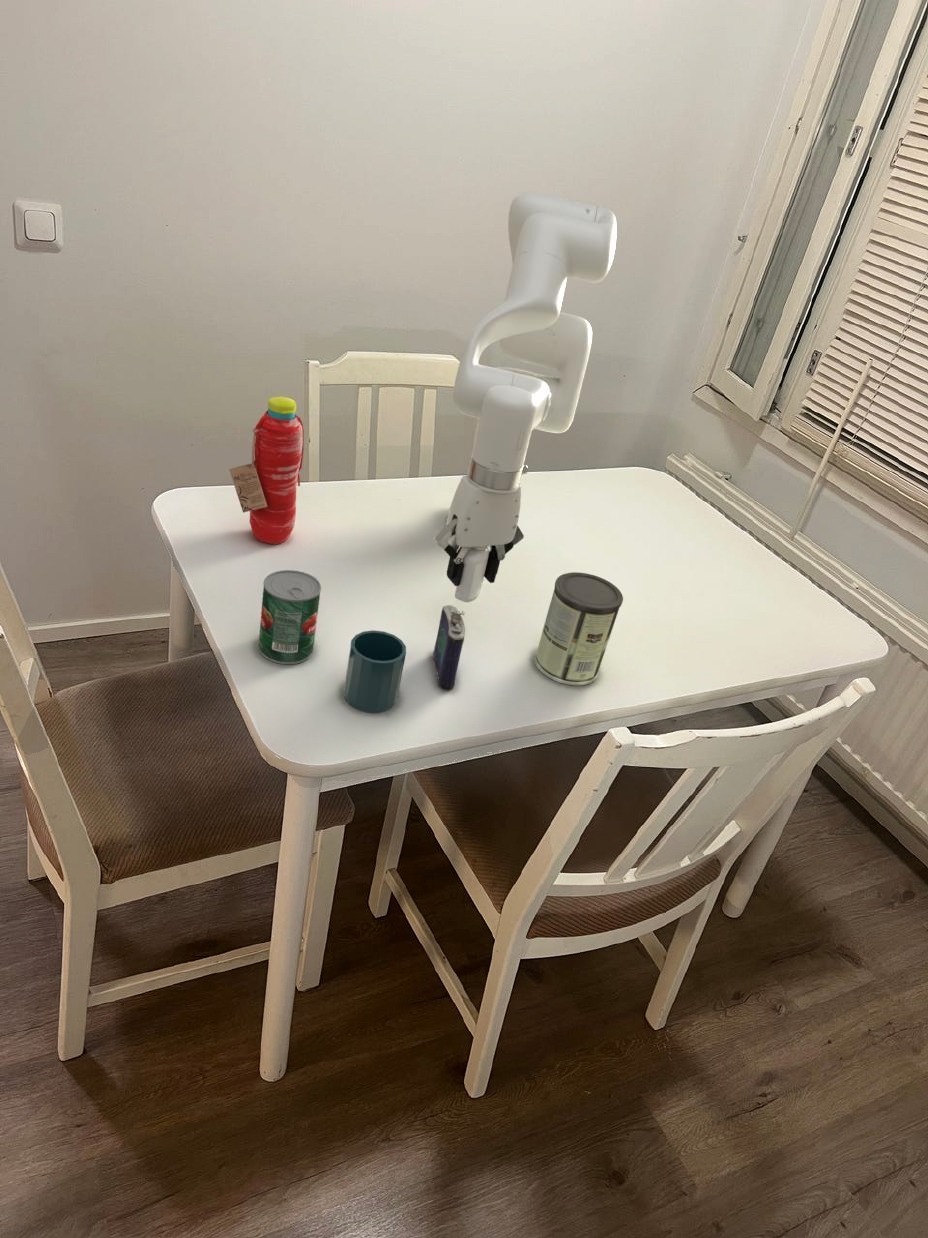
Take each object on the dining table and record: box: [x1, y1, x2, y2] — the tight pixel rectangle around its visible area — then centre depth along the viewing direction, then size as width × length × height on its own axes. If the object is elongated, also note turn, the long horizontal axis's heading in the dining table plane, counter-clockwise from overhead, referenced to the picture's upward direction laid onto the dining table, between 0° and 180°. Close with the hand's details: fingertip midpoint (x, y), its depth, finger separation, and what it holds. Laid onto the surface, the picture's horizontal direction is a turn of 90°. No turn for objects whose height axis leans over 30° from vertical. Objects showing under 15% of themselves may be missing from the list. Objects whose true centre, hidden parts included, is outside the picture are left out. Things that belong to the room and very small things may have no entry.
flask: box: [432, 604, 466, 691], centre depth 129 cm, size 9×3×11 cm, turn 8°
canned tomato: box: [257, 569, 322, 665], centre depth 126 cm, size 8×8×11 cm
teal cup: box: [343, 629, 407, 714], centre depth 122 cm, size 7×7×8 cm
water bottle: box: [228, 396, 305, 545], centre depth 148 cm, size 12×8×25 cm, turn 127°
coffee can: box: [534, 571, 624, 686], centre depth 136 cm, size 10×10×14 cm
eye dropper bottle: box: [454, 546, 490, 603], centre depth 137 cm, size 4×6×12 cm
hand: (470, 578), depth 139 cm, fingers closed on eye dropper bottle, 5 cm apart
